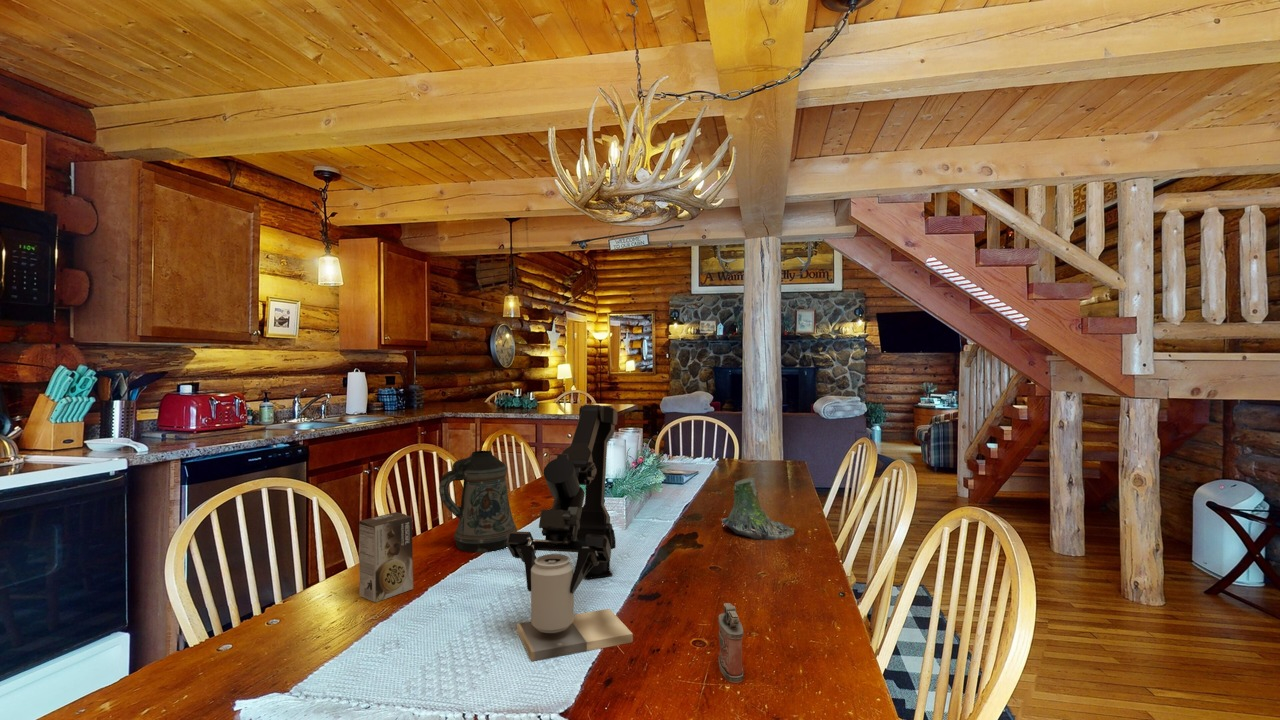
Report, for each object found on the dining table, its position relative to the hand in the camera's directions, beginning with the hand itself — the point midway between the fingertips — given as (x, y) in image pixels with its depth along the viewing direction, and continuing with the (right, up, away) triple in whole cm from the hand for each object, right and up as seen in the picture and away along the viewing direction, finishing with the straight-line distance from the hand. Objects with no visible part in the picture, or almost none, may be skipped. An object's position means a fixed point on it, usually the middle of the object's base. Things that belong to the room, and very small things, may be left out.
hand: (550, 591), depth 110 cm
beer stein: (-27, -9, +58) cm, 65 cm away
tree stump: (+50, -9, +71) cm, 87 cm away
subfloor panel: (+4, -9, +3) cm, 10 cm away
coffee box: (-39, -9, +24) cm, 46 cm away
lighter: (+30, -9, -9) cm, 33 cm away
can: (0, -7, +1) cm, 7 cm away
